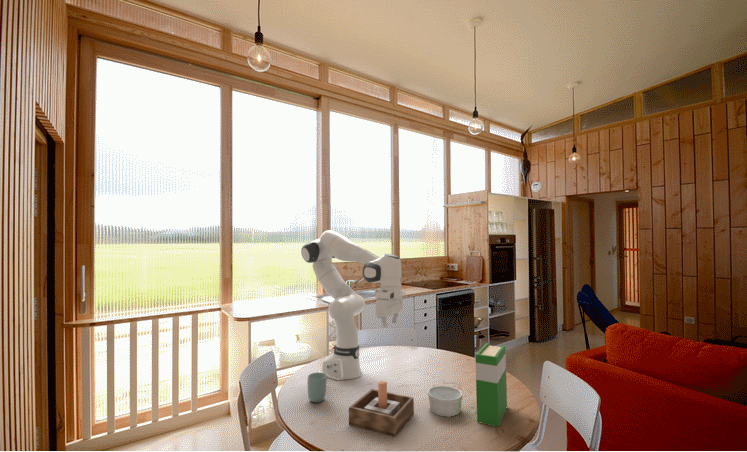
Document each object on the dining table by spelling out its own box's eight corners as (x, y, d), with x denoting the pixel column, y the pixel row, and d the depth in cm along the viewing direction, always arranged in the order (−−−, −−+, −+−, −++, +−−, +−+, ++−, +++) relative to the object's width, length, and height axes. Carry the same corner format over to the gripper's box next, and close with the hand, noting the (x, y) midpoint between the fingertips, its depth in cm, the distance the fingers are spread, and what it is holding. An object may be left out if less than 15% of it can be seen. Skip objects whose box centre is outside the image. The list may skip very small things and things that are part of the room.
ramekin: (456, 422, 123) (455, 402, 123) (422, 413, 130) (422, 394, 130) (467, 408, 134) (466, 389, 135) (435, 400, 141) (435, 383, 142)
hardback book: (487, 403, 138) (486, 342, 140) (507, 407, 134) (505, 345, 136) (477, 422, 123) (475, 354, 125) (498, 427, 119) (496, 357, 121)
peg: (376, 417, 125) (376, 383, 125) (380, 413, 128) (380, 380, 128) (384, 419, 123) (384, 385, 124) (388, 415, 126) (388, 382, 127)
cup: (329, 397, 143) (329, 373, 144) (320, 405, 136) (321, 380, 137) (313, 395, 146) (313, 371, 147) (303, 403, 139) (304, 377, 139)
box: (348, 424, 121) (348, 407, 122) (371, 404, 137) (371, 388, 138) (395, 437, 113) (394, 418, 114) (413, 413, 129) (413, 397, 130)
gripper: (393, 289, 156) (393, 319, 155) (373, 294, 137) (372, 329, 137) (406, 290, 153) (406, 321, 152) (387, 295, 135) (386, 331, 134)
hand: (390, 325), depth 144 cm, fingers open, 8 cm apart
